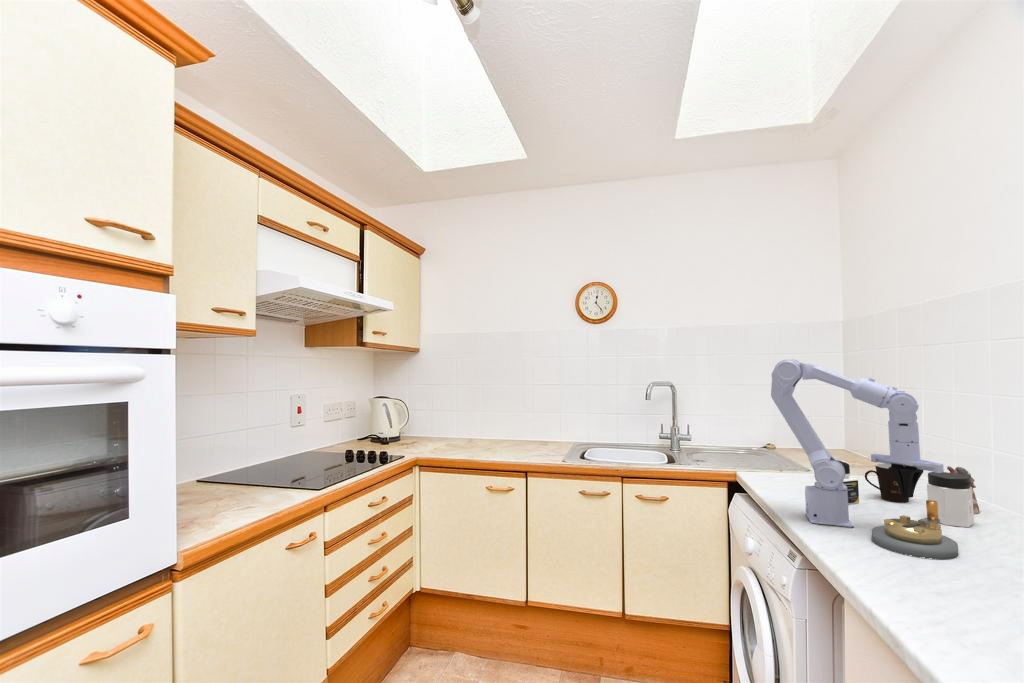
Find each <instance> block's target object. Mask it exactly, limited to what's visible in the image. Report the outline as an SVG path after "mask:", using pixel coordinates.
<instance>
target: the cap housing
mask: <svg viewBox="0 0 1024 683" xmlns="http://www.w3.org/2000/svg"><path fill="white" fill-rule="evenodd" d="M870 530H871V532H870V533H871V540H872V542H873V543H874V544H876V546H879V547H881V548H883V549H886V550H888V551H890V552H894V553H897V552H898V553H897V554H901V553H902V555H905V554H907V555H906V556H909V555H912V556H911V557H914V556H916V557H915V558H920V557H925V558H924V559H927V558H932V559H931V560H951V559H952V560H953V559H955V558H957V557H959V546H958V545H959V544H958V542H957V541H955V540H954V539H952V538H951V537H949V536H946V535H943V534H942V543H941V544H936V545H925V544H916V543H910V542H905V541H901V540H898V539H895V538H892V537H890V536H888V535H887V534H885V528H884V525H878V526H875V527H873V528H871V529H870Z"/></svg>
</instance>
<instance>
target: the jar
mask: <svg viewBox="0 0 1024 683" xmlns="http://www.w3.org/2000/svg"><path fill="white" fill-rule="evenodd" d="M927 480H928V481H927V484H926V490H927V492H926V493H927V500H933V501H937V503H938V519H940V525H944V526H952V527H959V528H960V527H961V528H970V527H972V526H973V525H974V524H975V514H974V512H973V497H972V487H970V485H971V481H970V478H969V477H968V476H965V475H961V474H956V473H950V472H948V471H946V472H945V471H944V472H942V473H935V472H933V471H928V473H927Z"/></svg>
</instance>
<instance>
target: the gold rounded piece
mask: <svg viewBox="0 0 1024 683" xmlns="http://www.w3.org/2000/svg"><path fill="white" fill-rule="evenodd" d="M925 502H926V503H925V504H926V517H925V518H921V519H917V520H916V519H911V516H907V515H900V516H899V518H885V519H883V526H884V528H885V534H887V535H888V536H890V537H892V538H895V539H898V540H901V541H905V542H910V543H916V544H925V545H936V544H941V543H942V535H943V533H942V532H943V531H942V524H941V523H940V519H938V503H937V501H933V500H928V499H925Z"/></svg>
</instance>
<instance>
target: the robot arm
mask: <svg viewBox="0 0 1024 683" xmlns="http://www.w3.org/2000/svg"><path fill="white" fill-rule="evenodd" d="M801 379H802V380H803V381H805V380H807V381H808V380H817V381H820V382H823V383H826V384H829V385H831V386H834V387H837V388H841V389H843V390H846V391H849V393H850V394H851V396H852V398H853V399H855V400H858V401H861V402H863V403H866V404H868V405H871V406H874V407H876V408H879V409H887V410H888V417H889V420H888V424H887V426H888V442H889V443H888V444H889V455H888V454H880V453H872V454H870V460H871V463H878V464H882V463H884V464H891V467H889V468H888V469H889V471H890V473H891V474H892V475H893V477H894V479H895V480H896V482H897V484H898V487H899V489H900V492H901V495H902V497H906V498H909V499H911V498H914V493H915V488H916V487H917V483H918V481H919V480H920V478H921V476H922V475H923V473H924V471H928V472H935V473H942V472H945V471H944V470H945V469H944V463H940V462H934V461H930V460H925V459H921V450H920V448H921V447H920V436H919V435H920V432H919V430H920V429H919V423H918V415H917V412H918V410H919V404H918V401H917V400H916V398H915V397H914V396H913V395H912V394H910V393H908V392H906V391H905V390H898V389H899V388H898V387H896V386H894V385H893V386H892V387H890V386H888V385H885V384H883V383H880V382H877V381H876V379H875V378H874V377H873V378H872V377H869V378H866V377H861V378H859V379H858V378H857V379H853V378H850V377H848V376H845V375H843V374H840V373H837V372H835V371H832V370H830V369H827V368H825V367H822V366H820V365H818V364H813V363H810V362H803V361H799V360H797V359H794V358H793V359H792V358H791V359H789V358H788V359H781V360H780V361H778V362H777V363H776V364H775V366H774V367H773V370H772V373H771V388H770V389H771V390H770V397H771V399H772V400H773V403H774V404H775V405H776V407H777V409H778V410H779V413H780V414H781V415H782V417H783V418H784V420H785V422H786V423H787V425H788V426H789V428H790V430H791V431H792V433H793V434H794V437H795V438H796V440H797V441H798V443H799V444H800V446H801V448H802V450H804V453H805V454H806V456H807V458H808V460H809V464H810V466H811V468H812V469H813V473H814V474H813V475H814V480H815V482H814V485H806V486H805V488H804V494H805V495H804V496H805V515H806V517H807V519H808V520H809V522H810V523H811V524H815V525H816V524H818V525H827V526H838V527H847V528H854V527H855V525H854V524H853V522H852V521H851V520H850V518H849V517H850V515H849V512H850V511H849V504H848V493H847V486H846V485H844V484H843V481H844V476H845V469H844V467H843V465H842V464H841V463H840V462H838V461H837V460H838V459H836V458H834V457H833V455H832V454H831V452H830V451H829V450H828V449H827V448H826V447H825V445H824V444H823V441H821V439H820V437H819V436H818V434H817V432H816V431H815V430H814V428H813V426H812V425H811V422H810V421H809V420H808V418H807V417H806V415H805V414H804V412H803V410H802V408H801V407H800V406H799V404H798V403H797V401H796V400H795V398H794V396H793V393H794V391H795V389H796V386H797V384H798V383H799V381H801Z"/></svg>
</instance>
